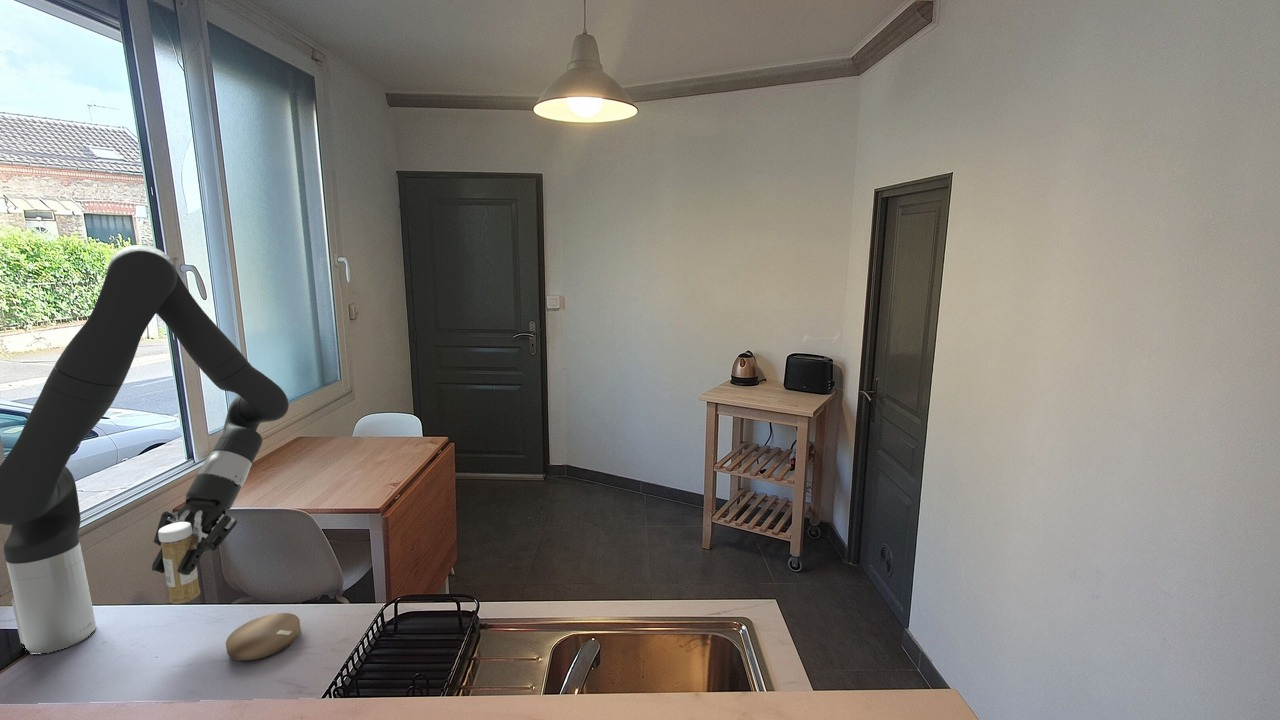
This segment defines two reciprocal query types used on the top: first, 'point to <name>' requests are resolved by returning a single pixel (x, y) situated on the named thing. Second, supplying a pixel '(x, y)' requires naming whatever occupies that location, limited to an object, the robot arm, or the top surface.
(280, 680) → the top surface
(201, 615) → the top surface
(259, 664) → the top surface
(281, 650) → the turntable base
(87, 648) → the top surface
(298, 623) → the disc
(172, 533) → the sprinkles bottle
